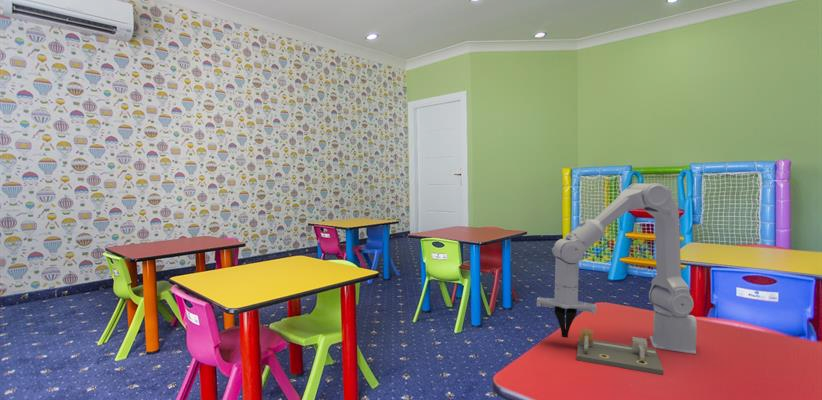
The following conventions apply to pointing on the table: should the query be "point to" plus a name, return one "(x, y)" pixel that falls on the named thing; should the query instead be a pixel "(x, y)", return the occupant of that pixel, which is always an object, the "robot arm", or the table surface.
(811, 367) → the table surface
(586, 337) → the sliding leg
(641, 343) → the fixed leg
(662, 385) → the table surface
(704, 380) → the table surface
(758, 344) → the table surface
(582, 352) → the plate
